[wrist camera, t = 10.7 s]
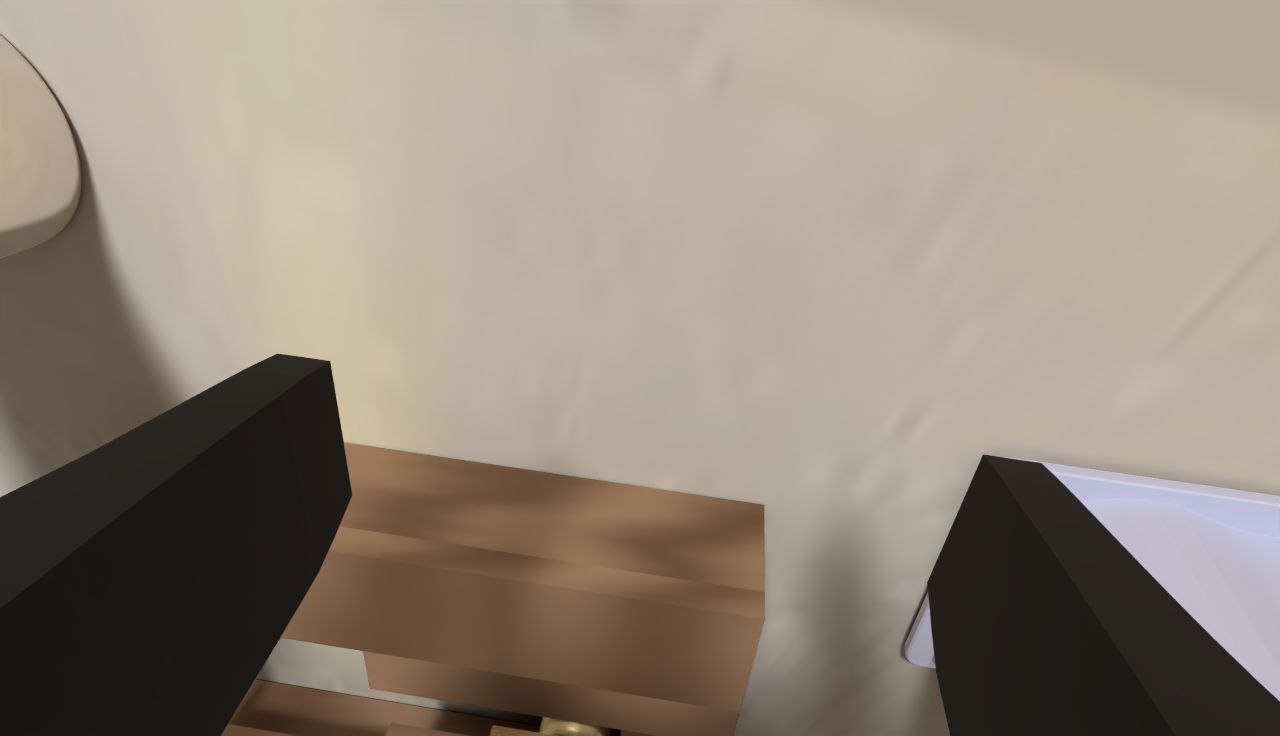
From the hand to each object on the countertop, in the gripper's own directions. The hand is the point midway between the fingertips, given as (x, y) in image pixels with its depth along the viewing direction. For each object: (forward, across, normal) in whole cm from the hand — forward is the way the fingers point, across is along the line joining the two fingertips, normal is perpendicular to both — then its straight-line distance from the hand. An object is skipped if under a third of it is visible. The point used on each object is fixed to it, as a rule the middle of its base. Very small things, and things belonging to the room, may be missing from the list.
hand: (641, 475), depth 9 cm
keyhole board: (+9, +6, +16) cm, 19 cm away
